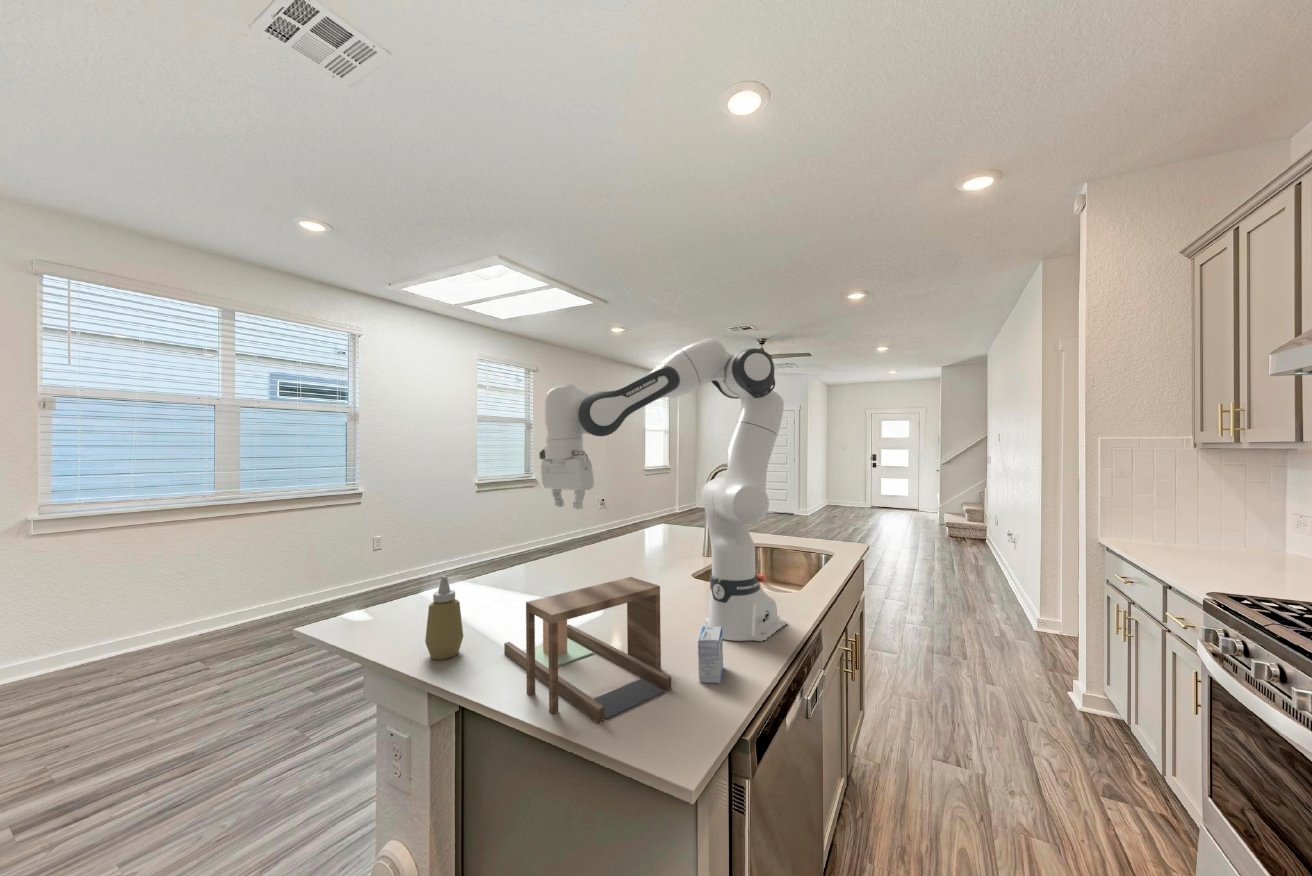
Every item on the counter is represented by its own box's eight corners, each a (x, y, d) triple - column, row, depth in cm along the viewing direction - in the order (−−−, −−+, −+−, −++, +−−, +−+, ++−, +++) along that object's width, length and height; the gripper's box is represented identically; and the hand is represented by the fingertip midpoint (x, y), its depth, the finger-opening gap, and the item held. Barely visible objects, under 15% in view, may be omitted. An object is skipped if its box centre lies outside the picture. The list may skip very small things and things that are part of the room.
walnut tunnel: (583, 629, 126) (583, 561, 126) (687, 682, 98) (686, 594, 98) (485, 659, 109) (485, 581, 109) (576, 734, 80) (575, 627, 81)
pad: (566, 638, 120) (566, 637, 120) (593, 654, 111) (593, 652, 111) (516, 654, 112) (516, 652, 112) (542, 672, 103) (542, 670, 103)
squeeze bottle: (471, 651, 114) (470, 574, 114) (442, 665, 106) (442, 583, 107) (446, 645, 117) (445, 570, 117) (417, 659, 110) (416, 579, 110)
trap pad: (642, 679, 99) (642, 678, 99) (665, 692, 94) (665, 690, 94) (584, 704, 90) (584, 702, 90) (606, 720, 84) (606, 718, 84)
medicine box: (720, 684, 97) (720, 640, 97) (698, 682, 97) (697, 639, 98) (723, 666, 104) (722, 626, 104) (702, 665, 105) (702, 625, 105)
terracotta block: (558, 647, 114) (558, 613, 114) (567, 652, 111) (567, 617, 112) (543, 652, 112) (542, 617, 112) (551, 657, 109) (551, 621, 109)
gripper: (598, 449, 113) (602, 508, 113) (557, 451, 129) (560, 504, 129) (574, 450, 109) (578, 512, 109) (535, 453, 125) (538, 507, 125)
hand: (568, 507), depth 119 cm, fingers open, 8 cm apart
